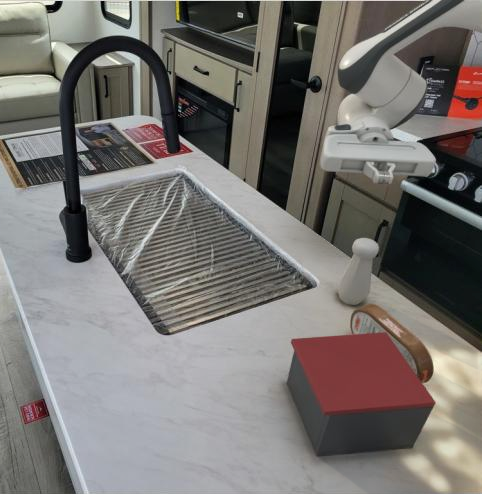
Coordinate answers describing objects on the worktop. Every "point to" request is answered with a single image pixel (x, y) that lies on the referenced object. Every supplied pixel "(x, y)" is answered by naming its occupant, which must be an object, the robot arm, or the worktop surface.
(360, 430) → the dark grey storage bin
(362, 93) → the robot arm
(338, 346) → the storage bin lid
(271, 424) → the worktop surface
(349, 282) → the salt shaker
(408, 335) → the tin
